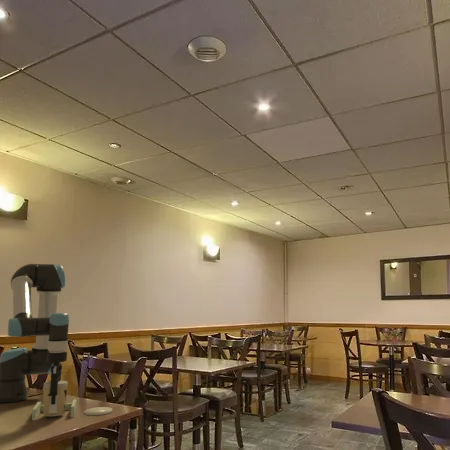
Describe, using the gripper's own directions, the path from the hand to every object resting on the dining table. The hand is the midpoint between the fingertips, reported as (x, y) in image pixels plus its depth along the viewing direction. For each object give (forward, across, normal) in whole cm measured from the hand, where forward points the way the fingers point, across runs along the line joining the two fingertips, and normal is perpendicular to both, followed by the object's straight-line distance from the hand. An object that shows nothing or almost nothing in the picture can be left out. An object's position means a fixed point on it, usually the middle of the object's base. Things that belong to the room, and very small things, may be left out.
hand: (54, 410), depth 174 cm
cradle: (+3, -4, 0) cm, 4 cm away
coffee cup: (+2, 0, 0) cm, 2 cm away
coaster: (+2, -2, +17) cm, 17 cm away
